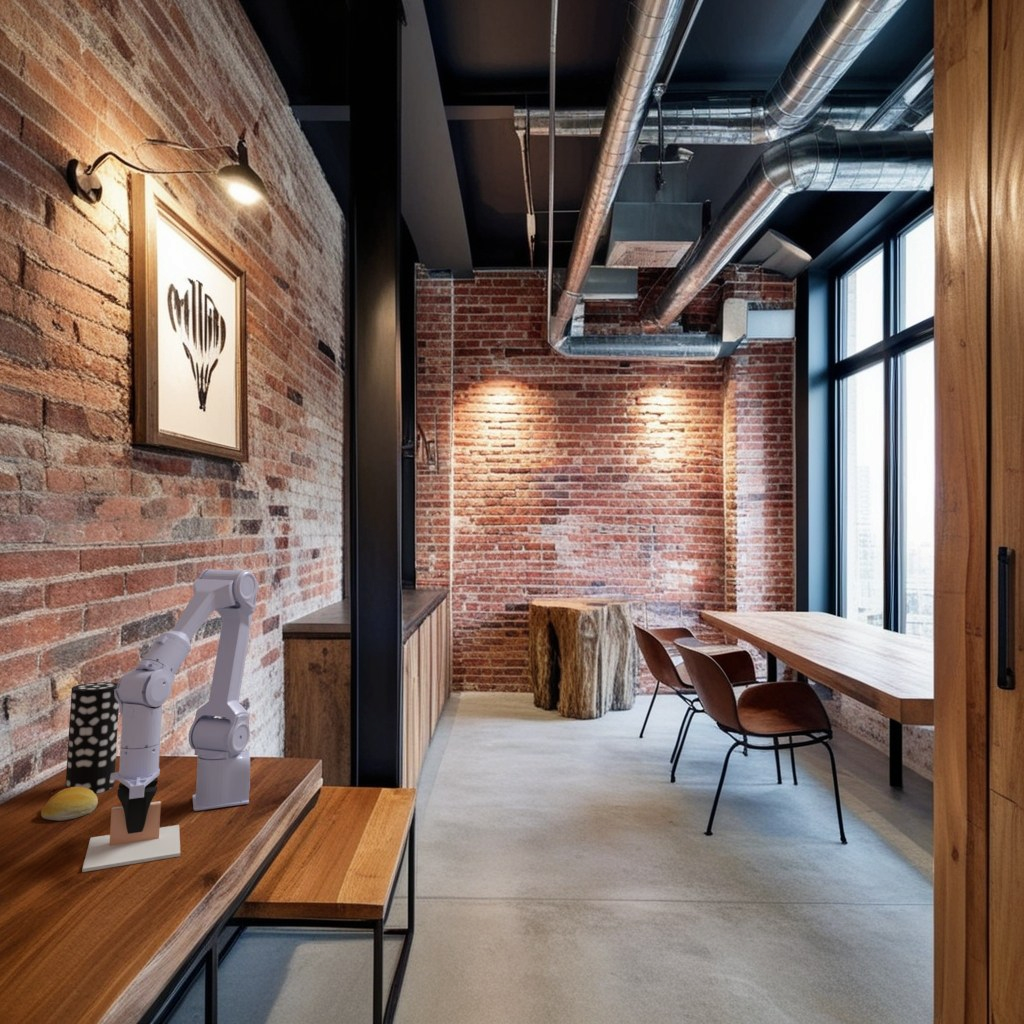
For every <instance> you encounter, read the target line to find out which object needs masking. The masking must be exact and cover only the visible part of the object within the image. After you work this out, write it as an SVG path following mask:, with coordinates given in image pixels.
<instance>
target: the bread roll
mask: <svg viewBox="0 0 1024 1024" xmlns="http://www.w3.org/2000/svg"><path fill="white" fill-rule="evenodd" d="M98 800H99V798H98V796H97V794H95V793H94V792H93V791H92V790H90V789H88V788H84V787H70V788H66V789H65V788H63V789H61V790H59V791H58V792H57V793H55V794H54V795H52V796H51V797H50V798H49V799H48V801H47V803H46V804H45V805H44V806H43V807H42V809H41V812H40V815H41V817H42V818H43V819H45V820H47V821H48V820H49V821H57V822H58V821H61V822H62V821H68V820H73V819H74V820H75V819H77V818H81V817H84V816H86V815H89V814H91V813H93V811H94V812H95V809H96V808H97V806H98V803H99V801H98Z"/></svg>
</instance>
